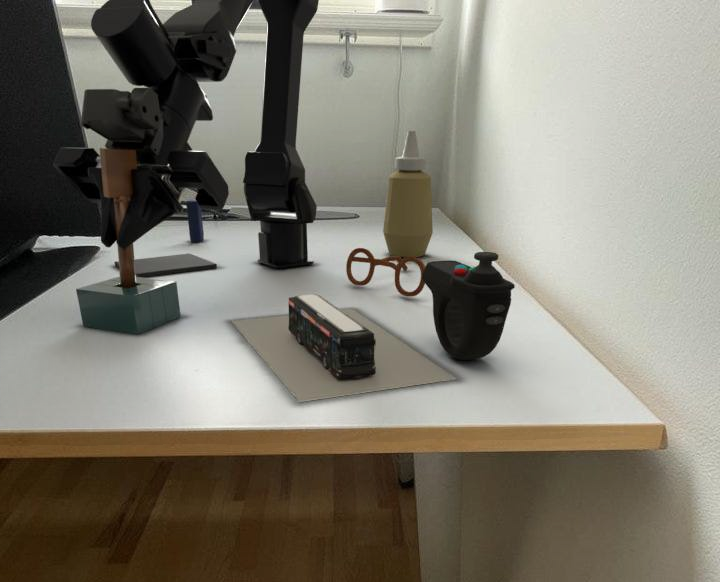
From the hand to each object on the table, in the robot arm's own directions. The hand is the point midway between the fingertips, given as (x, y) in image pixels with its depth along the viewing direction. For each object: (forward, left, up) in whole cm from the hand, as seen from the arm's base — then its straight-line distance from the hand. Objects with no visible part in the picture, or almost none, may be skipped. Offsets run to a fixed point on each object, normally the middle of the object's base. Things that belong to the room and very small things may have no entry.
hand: (112, 245), depth 68 cm
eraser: (-28, -45, -8) cm, 54 cm away
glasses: (-38, +3, -8) cm, 39 cm away
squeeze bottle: (-51, -14, -8) cm, 54 cm away
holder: (-1, -1, -8) cm, 8 cm away
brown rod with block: (-1, -1, -8) cm, 8 cm away
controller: (-23, +28, -8) cm, 37 cm away
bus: (-14, +19, -8) cm, 25 cm away
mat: (-15, -27, -8) cm, 32 cm away
